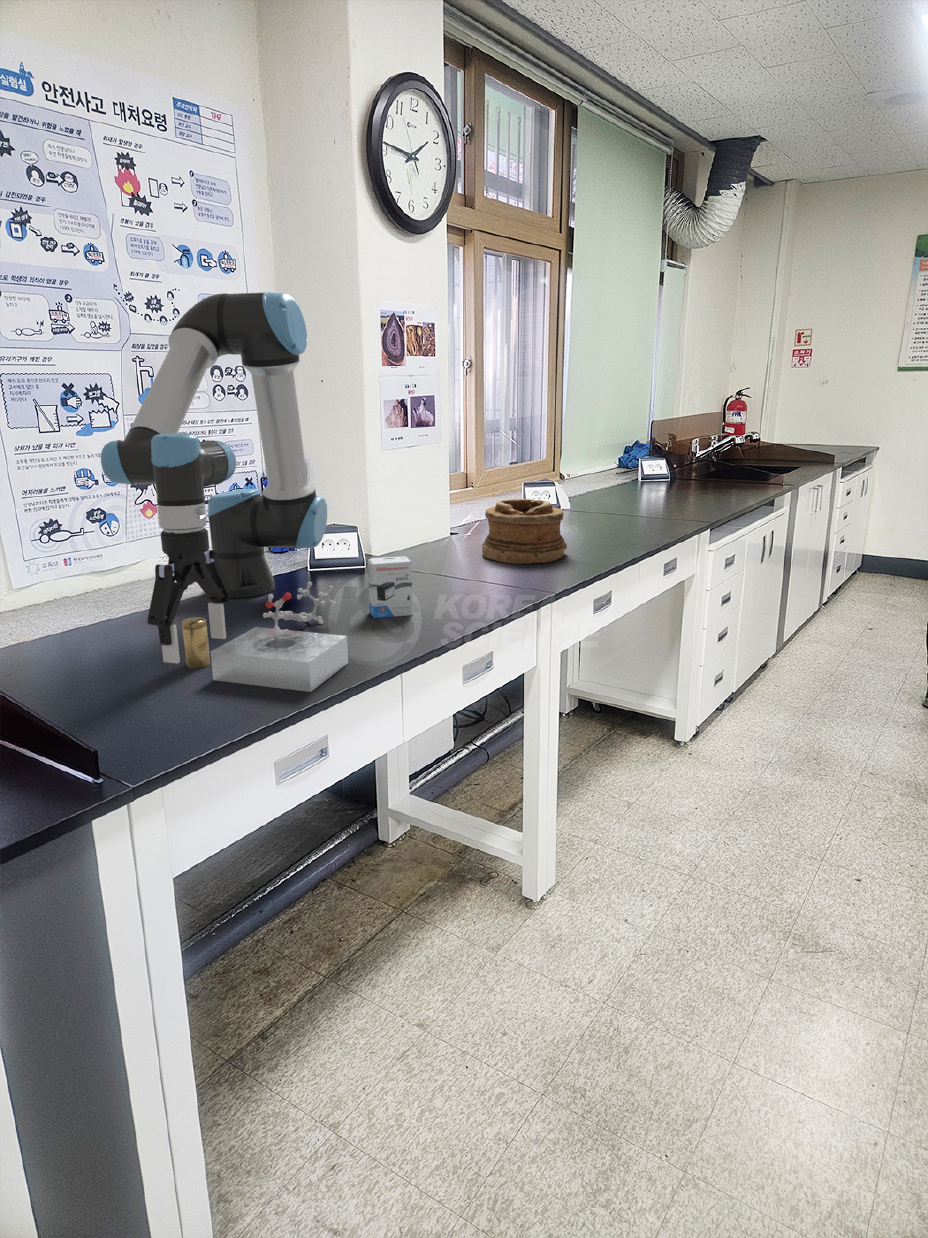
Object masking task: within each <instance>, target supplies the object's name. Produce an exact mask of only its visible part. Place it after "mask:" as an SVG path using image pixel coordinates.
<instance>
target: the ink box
mask: <svg viewBox="0 0 928 1238" xmlns="http://www.w3.org/2000/svg"><path fill="white" fill-rule="evenodd" d="M367 571H368V597H369V598H368V599H369V613H370V615H371V616H372V617H373V619H382V618H394V617H404V616H405V617H407V616H413V615H414V613H413V612H414V611H413V609H414V607H413V605H414V604H413V573H412V571H413V570H412V560H411V559H410V558H409V557H408V556H405V555H404V556H389V557H388V556H387V557H372V558H369V559H367Z"/></svg>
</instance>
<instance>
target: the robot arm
mask: <svg viewBox="0 0 928 1238" xmlns="http://www.w3.org/2000/svg"><path fill="white" fill-rule="evenodd" d="M305 322H306V321H305V318H304V315H303V312H302V310H301V307H300V306H299V304H298V303H297V301H296V300H295V299H294V298H293V297H292V296H291V295H289V294H288V293H282V292H271V291H266V292H262V291H261V292H245V293H244V292H241V293H224V292H223V293H217V294H213V295H209V296H208V297H205V298H203V299H201V300H200V301H198V302H197V303H195V304H194V305H192V306H191V307H190V308H189V309H188V310H187V311H186V312H185V313H184V314H183V315H182V316H181V317H180V319H179V320H178V321H177V322H176V323H175V325H174V327H173V329H172V330H171V333H170V335H169V336H168V347H169V350H168V352H167V354H166V356H165V358H164V360H163V362H162V364H161V366H160V368H159V370H158V372H157V374H156V376H155V378H154V380H153V381H152V383H151V386H150V388H149V390H148V392H147V394H146V395H145V398H144V400H143V402H142V404H141V406H140V408H139V410H138V412H137V414H136V417H135V418H134V419H133V422H132V424H131V426H130V428H129V430H128V432H127V434H126V436H125V438H124V439H123V440H120V439H117V440H112V441H109V442H108V443H106V444H104V446H103V448H102V449H101V452H100V453H101V454H100V463H101V464H100V465H101V469H102V471H103V473H104V475H105V476H106V478H107V479H108V480H109V481H110V482H112V483H115V484H120V485H121V484H122V485H123V484H124V485H130V486H135V485H154V486H155V492H156V493H155V494H156V502H157V504H156V507H157V514H158V515H157V516H158V517H157V518H158V527H159V528H160V529H162V531H161V532H160V541H161V542H160V543H161V550H162V553H164V554H165V555H166V556H167V557H168V563H167V564H159V563H158V564H156V565H155V567H154V572H155V573H154V576H155V577H154V578H155V579H154V585H153V590H152V594H151V600H150V605H149V610H148V615H147V625H151V626H156V627H157V629H158V636H159V637H158V638H159V644H160V645H161V652H162V660H163V663H169V664H179V663H181V658H180V657H181V656H180V649H179V639H178V631H177V624H175V623H174V624H173V622H174V620H175V616H176V613H177V611H178V608H179V605H180V602H181V600H182V597H183V594H184V593H185V591H186V590H187V589H188V588H189V586H191V585H193V584H194V583H197V585H198V586H199V587H200V589H202V591H203V592H204V593H205V595H206V596H207V597H208V599H209V600H210V601H211V602H210V601H209V602H207V606H208V607H207V609H208V617H209V630H210V638H211V639H219V640H221V639H222V640H225V639H227V630H226V628H227V627H226V621H225V620H226V619H225V618H226V615H225V612H226V611H225V603H229V602H230V599H240V598H242V599H243V598H250V597H252V598H253V597H257V596H263V595H265V594H270V593H271V592H272V591H274V590H275V587H276V585H275V578H274V576H273V573H272V570H271V567H270V566H269V563H268V561H267V558H266V555H265V548H279V549H280V548H281V549H296V550H302V549H314V548H316V547H318V546H319V545H320V543H321V542H322V540H323V538H324V536H325V532H326V527H327V523H328V522H327V521H328V505H327V504H328V503H327V502H326V499H325V498H324V497H323V496H319V495H318V496H317V492H316V486H315V485H314V484H313V483H311V482H310V481H309V480H308V475H307V467H306V460H305V450H304V445H303V444H304V443H303V436H302V428H301V420H300V414H299V413H300V412H299V405H298V396H297V389H296V383H295V382H296V380H295V379H296V378H295V372H294V371H295V368H296V367H297V366H298V365H299V363H300V360H301V359H300V355H302V354H303V353H304V352H305V351H306V348H307V345H308V344H307V339H308V335H307V332H308V331H307V327H306V323H305ZM226 355H234V356H235V355H236V356H237V355H240V357H241V358H240V359H241V365H242V367H243V368H245V370H247V371H249V373H250V374H251V381H252V388H253V393H254V394H253V395H254V400H255V406H256V407H255V408H256V413H257V419H258V426H259V433H260V441H261V446H262V453H263V459H264V460H263V461H264V468H265V472H266V473H265V474H266V480H267V485H266V486H265V487H264V489H263V490H262V492H261V491H260V489H259V488H244V489H237V490H231V491H225V492H220V493H217V494H214V495H212V496H211V497H210V498H209V499H208V502H207V511H208V512H207V511H206V503H205V502H206V501H205V489H204V488H206V487H209V486H211V487H212V486H214V485H216V486H218V485H220V484H222V483H224V482H225V481H228V480H230V478H231V477H233V475H234V474H235V471H236V468H237V459H236V455H235V452H234V451H233V449H232V448H231V447H230V446H229V445H228V444H226V443H225V442H223V441H220V440H213V439H212V440H209V439H207V440H204V441H200V439H199V437H198V436H197V435H196V434H195V433H189V432H187V433H186V432H183V433H182V432H180V433H179V430H180V428H181V426H182V424H183V422H184V420H185V418H186V415H187V413H188V411H189V409H190V407H191V404H192V402H193V400H194V398H195V395H196V393H197V391H198V389H199V388H200V387H199V386H200V385H201V382H202V380H203V378H204V376H205V373H206V371H207V369H210V368H211V367H213V366H214V365H215V364H216V362H217V360H218V358H220V357H222V356H226ZM261 494H262V495H261ZM206 512H207V513H206ZM207 518H208V521H207ZM207 522H208V523H207ZM208 524H209V525H208ZM207 525H208V526H209V531H208V529H207V528H205V526H207ZM209 534H210V540H209ZM209 541H210V542H209ZM210 543H211V549H210Z"/></svg>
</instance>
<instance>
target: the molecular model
mask: <svg viewBox="0 0 928 1238" xmlns="http://www.w3.org/2000/svg"><path fill="white" fill-rule="evenodd" d="M306 585H307V586H306V588H305V589H303V588H302V587H299V588H298V589H297V591H298V593H300V594H297V596H296V598H297V600H301V599H302V597H305V598H306V597H308V598H309V599H310V600H312V601H313V608H312V611H311V612H309V613H307V612H304V611H302V612H300V613H294V612H293V611H291V610H285V611H283V610H280V609H281V608H282V607H283V604H284V603H285V602H286V601H288V600H291V599H292V594H291V593H290V592H285V593H284V594H283V596H282V597H281V598H279V599H278V600H276V601H275V602H273V599H274V594H273V593H268V595H267V598H268V600H267V601H266V602H265V604H264V605H265V607H266V608H267V609H271V608H273V607H274V608H275V612H272V611H270V610H269V611H268V612H264V613H263V614H262V617H263V618H264V619H266V618H272V620H273V622H274V626H273V627H272V629H281V628H280V627H279V625H278V624H279V622H278V621H279V620H281V619H282V620H284V621H289V620H290V621H292V620H293V621H297V622H299V623H301V622H305V623H309V622H311V621H312V620H315V621H317V622H318V624H319V625H323V624H324V621H323V617H322V616H321V615H318V616H317V613H316V611H317V609H318V606H320V605H321V606H325V605H326V601H328V602H329V603H331V606H332V607H335V606H336V605H337V602H336V601H335V600H332V598H331V595H330V593H331V591H333V589H334V587H333V585H329V586H328V587H327V588H328V589H327V591H326V592H322V591H319V592H318V596H319V597H321V598H318V597H317V598H316V597H314V596H313V595H312V594H311V592H310V588H311V587H312V586H313V582H311V581H308V582H307V583H306ZM284 630H289V629H287V628H286V629H285V628H284Z"/></svg>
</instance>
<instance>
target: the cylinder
mask: <svg viewBox="0 0 928 1238" xmlns="http://www.w3.org/2000/svg"><path fill="white" fill-rule="evenodd" d="M181 626H182V637H183V645H184V655H185V663H186V667H187V668H190V669H201V668H205V667H208V666H210V665H211V653H210V646H209V644H210V643H209V635H208V625H207V619H206V617H200V616H199V617H198V616H197V617H196V616H195V617H188V618H184V619H182V621H181Z"/></svg>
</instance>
